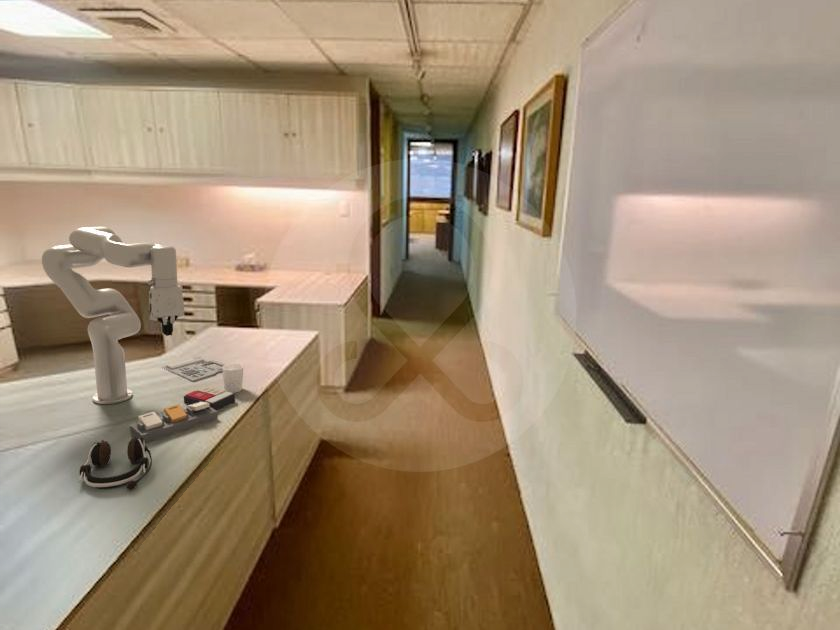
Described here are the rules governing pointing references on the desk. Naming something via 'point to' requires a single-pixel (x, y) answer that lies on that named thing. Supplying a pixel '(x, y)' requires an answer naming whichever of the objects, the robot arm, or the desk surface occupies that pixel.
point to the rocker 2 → (198, 406)
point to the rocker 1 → (150, 420)
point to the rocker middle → (175, 413)
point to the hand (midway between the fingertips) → (167, 334)
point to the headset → (102, 456)
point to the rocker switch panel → (174, 424)
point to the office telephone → (194, 369)
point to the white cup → (232, 377)
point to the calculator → (210, 397)
